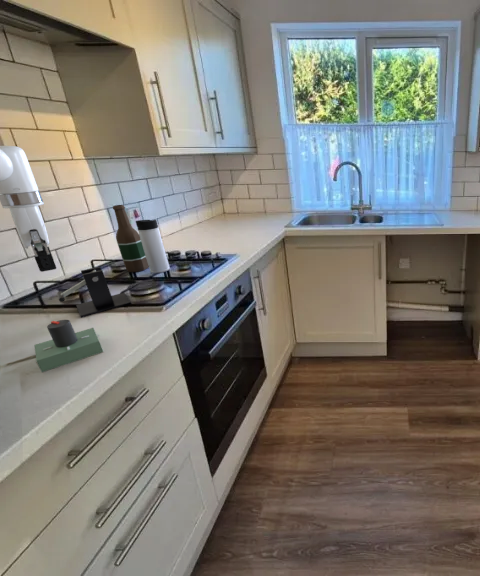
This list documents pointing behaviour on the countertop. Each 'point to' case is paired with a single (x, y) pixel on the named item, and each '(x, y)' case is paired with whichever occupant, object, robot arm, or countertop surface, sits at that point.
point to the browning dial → (62, 333)
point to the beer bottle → (129, 242)
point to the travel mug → (153, 246)
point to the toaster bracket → (99, 294)
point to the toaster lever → (71, 290)
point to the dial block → (67, 350)
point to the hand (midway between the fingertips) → (47, 265)
